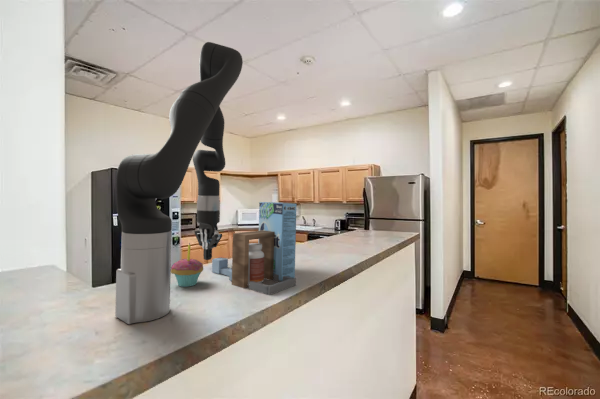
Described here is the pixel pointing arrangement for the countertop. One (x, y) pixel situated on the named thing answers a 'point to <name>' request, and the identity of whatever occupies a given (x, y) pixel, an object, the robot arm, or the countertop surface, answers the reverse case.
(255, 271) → the pill bottle
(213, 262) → the sled
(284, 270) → the light blue upright box
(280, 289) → the dock
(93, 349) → the countertop surface
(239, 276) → the tunnel
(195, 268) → the cupcake
